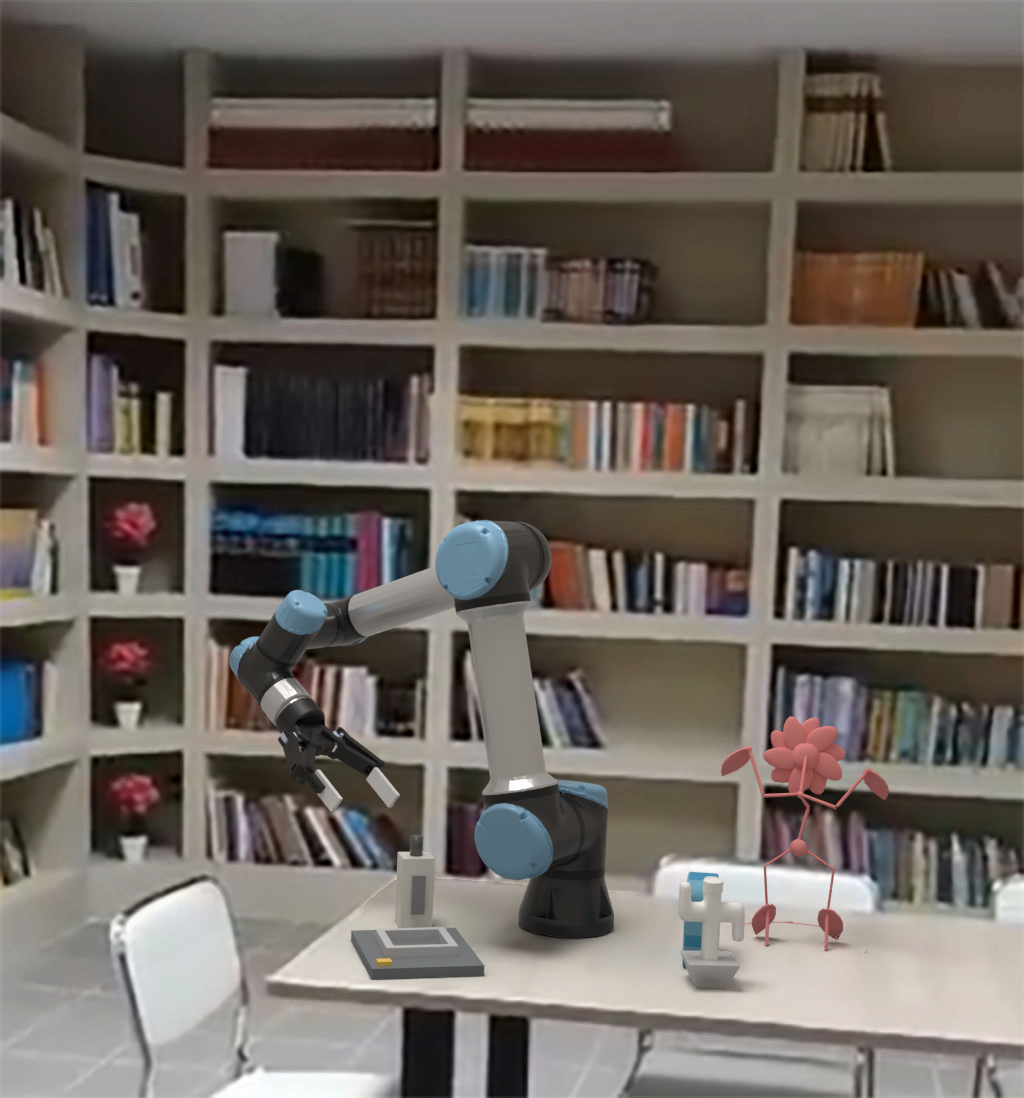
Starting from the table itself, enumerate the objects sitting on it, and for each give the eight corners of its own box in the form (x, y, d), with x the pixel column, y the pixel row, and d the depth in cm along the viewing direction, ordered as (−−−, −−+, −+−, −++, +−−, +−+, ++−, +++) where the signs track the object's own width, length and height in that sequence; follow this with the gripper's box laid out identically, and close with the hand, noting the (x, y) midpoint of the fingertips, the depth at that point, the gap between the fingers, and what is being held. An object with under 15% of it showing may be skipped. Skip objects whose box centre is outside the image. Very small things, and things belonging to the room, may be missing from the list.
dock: (455, 937, 253) (455, 918, 253) (484, 975, 233) (484, 954, 233) (351, 940, 249) (351, 920, 249) (371, 979, 230) (372, 958, 229)
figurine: (746, 991, 231) (751, 885, 230) (680, 990, 230) (684, 883, 230) (735, 976, 238) (740, 873, 238) (671, 975, 237) (675, 871, 237)
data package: (713, 971, 240) (716, 889, 240) (681, 969, 241) (685, 887, 240) (715, 949, 252) (718, 871, 252) (685, 947, 253) (688, 869, 252)
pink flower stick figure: (883, 957, 251) (893, 728, 250) (712, 943, 255) (722, 717, 254) (877, 931, 266) (887, 715, 265) (716, 918, 271) (725, 705, 269)
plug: (426, 920, 262) (429, 832, 262) (433, 930, 257) (436, 840, 256) (394, 921, 261) (398, 833, 261) (401, 930, 256) (404, 840, 255)
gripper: (334, 729, 282) (405, 816, 271) (227, 730, 262) (299, 825, 251) (356, 696, 279) (428, 782, 268) (250, 694, 259) (323, 788, 248)
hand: (366, 803), depth 260 cm, fingers open, 13 cm apart
